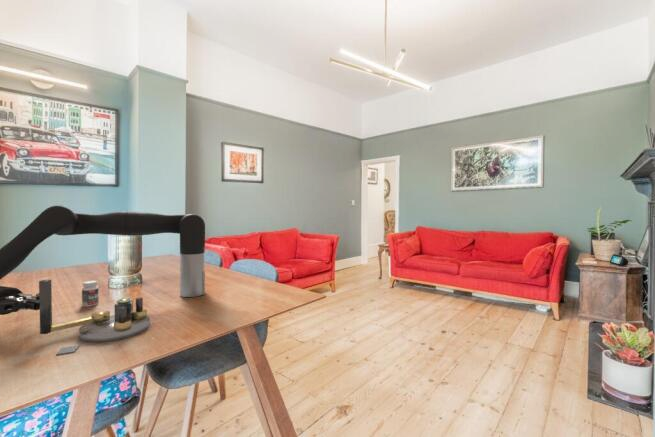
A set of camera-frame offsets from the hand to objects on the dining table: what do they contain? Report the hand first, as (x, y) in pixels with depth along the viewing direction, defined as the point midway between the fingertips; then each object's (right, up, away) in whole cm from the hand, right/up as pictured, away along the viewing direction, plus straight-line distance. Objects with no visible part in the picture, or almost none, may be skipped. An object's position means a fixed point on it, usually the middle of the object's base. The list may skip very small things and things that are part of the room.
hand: (40, 305), depth 81 cm
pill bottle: (-10, -8, +29) cm, 32 cm away
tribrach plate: (+15, -9, +7) cm, 19 cm away
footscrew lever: (+6, -7, +5) cm, 10 cm away
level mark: (+12, -10, -5) cm, 16 cm away
